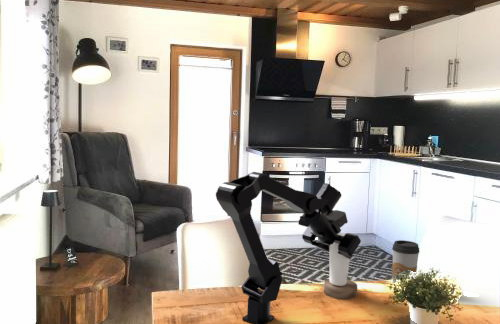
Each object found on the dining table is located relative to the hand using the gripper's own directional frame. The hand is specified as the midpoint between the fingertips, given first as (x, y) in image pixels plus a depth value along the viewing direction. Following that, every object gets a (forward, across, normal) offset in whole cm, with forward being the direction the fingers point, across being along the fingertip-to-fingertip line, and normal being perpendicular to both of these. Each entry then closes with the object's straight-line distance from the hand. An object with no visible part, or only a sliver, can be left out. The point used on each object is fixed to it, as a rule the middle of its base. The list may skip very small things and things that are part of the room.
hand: (341, 255), depth 140 cm
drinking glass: (+6, 0, +7) cm, 9 cm away
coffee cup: (+23, -9, -6) cm, 26 cm away
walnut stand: (+9, 0, +8) cm, 12 cm away
